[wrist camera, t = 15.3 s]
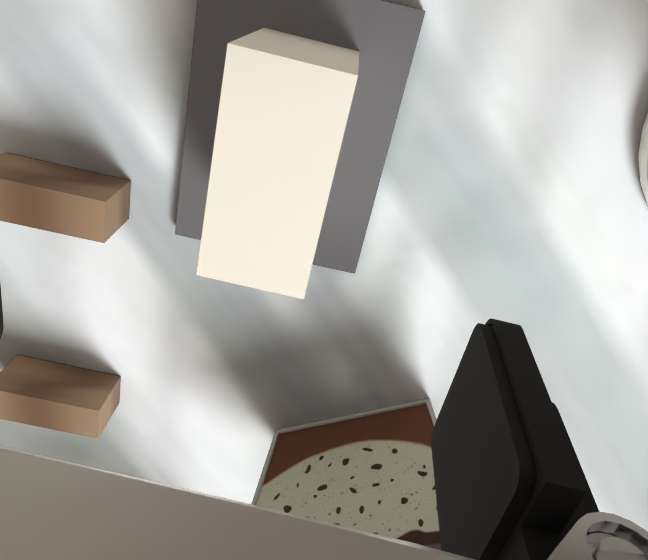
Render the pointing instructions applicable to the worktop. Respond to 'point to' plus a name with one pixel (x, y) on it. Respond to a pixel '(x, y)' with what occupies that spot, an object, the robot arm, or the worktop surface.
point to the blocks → (74, 220)
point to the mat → (363, 120)
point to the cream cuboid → (274, 158)
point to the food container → (358, 472)
